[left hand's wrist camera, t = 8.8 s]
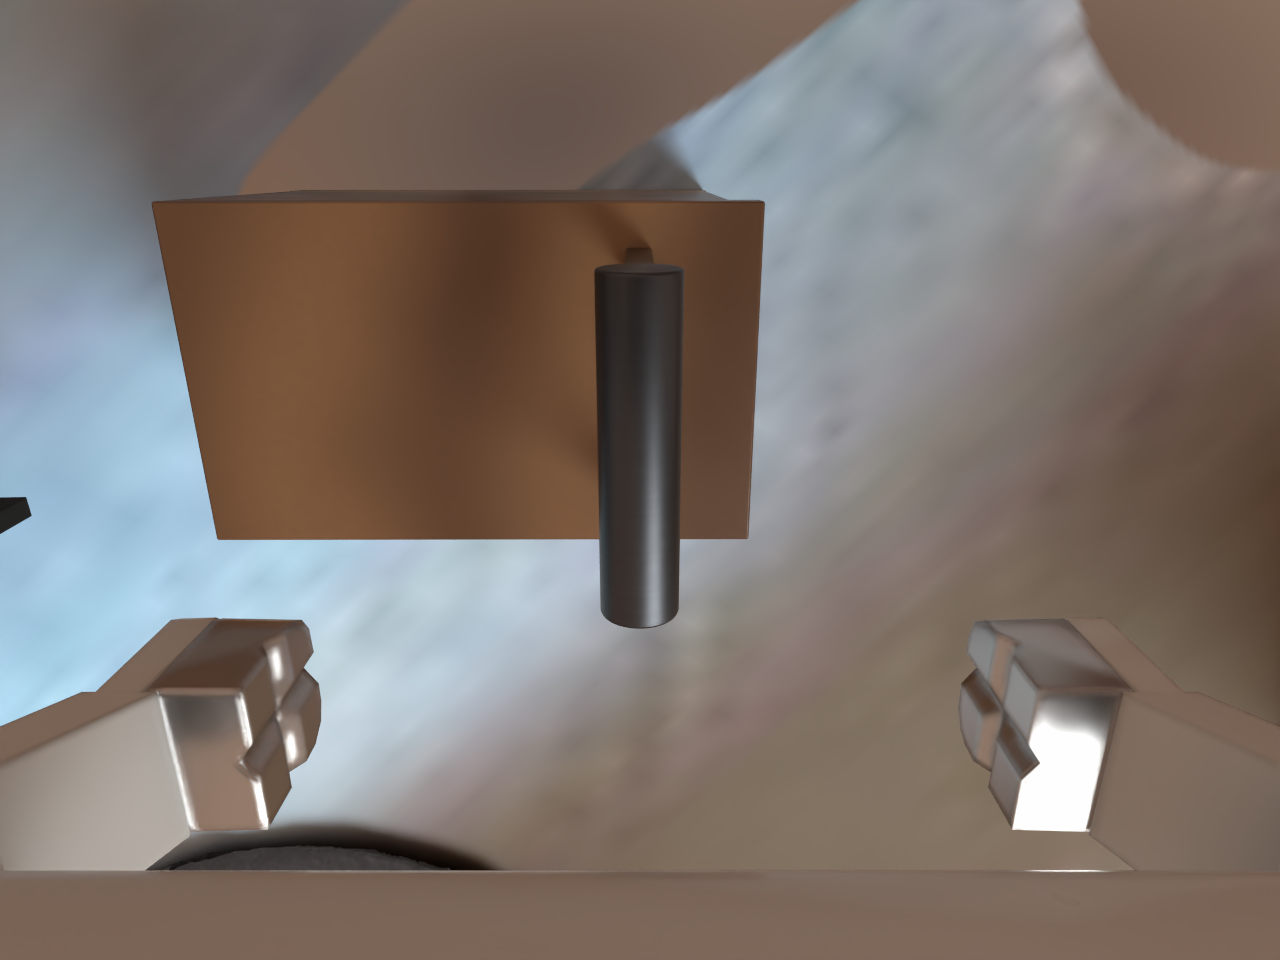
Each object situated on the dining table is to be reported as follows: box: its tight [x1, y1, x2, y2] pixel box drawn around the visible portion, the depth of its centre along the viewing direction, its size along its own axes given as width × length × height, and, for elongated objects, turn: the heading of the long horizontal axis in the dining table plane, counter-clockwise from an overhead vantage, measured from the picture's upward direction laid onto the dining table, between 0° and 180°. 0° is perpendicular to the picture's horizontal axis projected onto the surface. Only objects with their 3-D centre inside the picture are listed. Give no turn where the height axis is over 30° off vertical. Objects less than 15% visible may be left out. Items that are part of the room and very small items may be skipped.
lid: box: [152, 200, 765, 628], centre depth 21 cm, size 16×10×8 cm, turn 90°
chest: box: [182, 190, 726, 200], centre depth 29 cm, size 16×10×10 cm, turn 90°
